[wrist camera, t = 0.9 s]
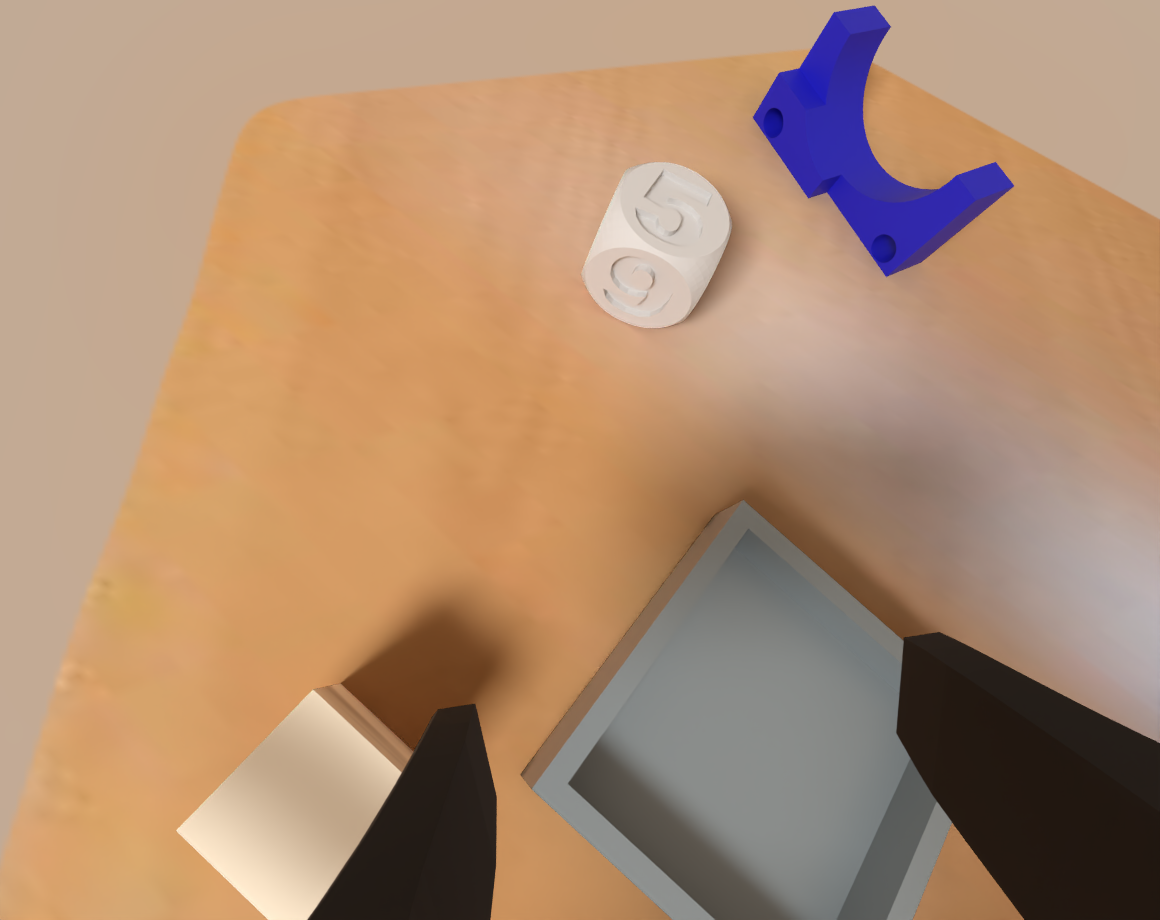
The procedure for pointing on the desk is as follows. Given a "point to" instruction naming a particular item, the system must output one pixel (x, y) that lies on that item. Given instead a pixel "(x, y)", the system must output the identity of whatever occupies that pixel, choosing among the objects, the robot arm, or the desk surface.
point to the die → (657, 245)
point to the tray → (749, 745)
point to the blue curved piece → (863, 150)
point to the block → (299, 803)
